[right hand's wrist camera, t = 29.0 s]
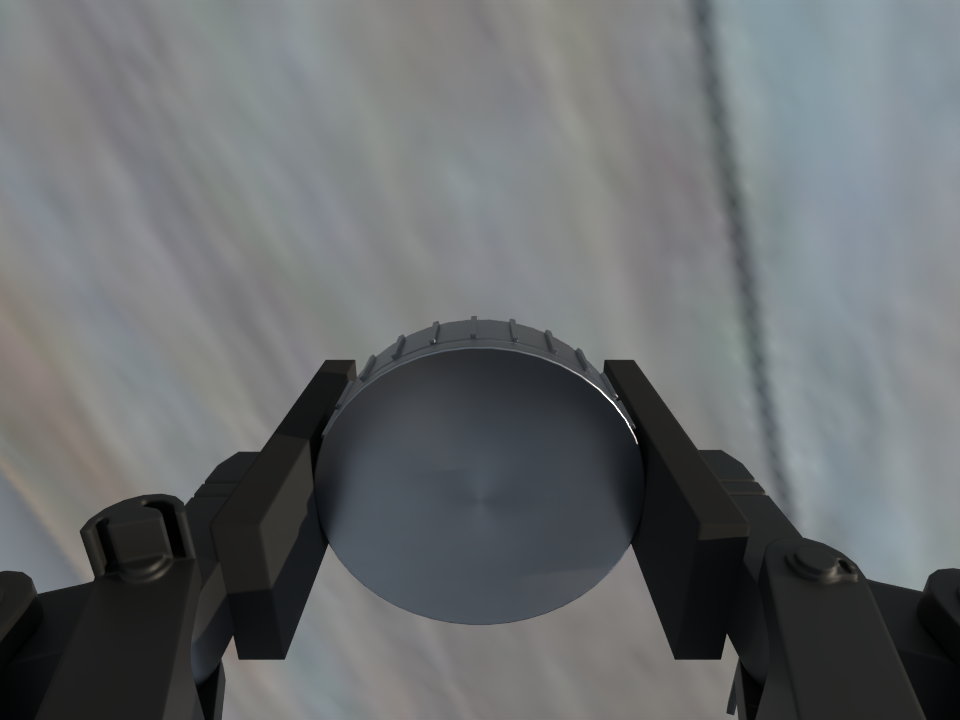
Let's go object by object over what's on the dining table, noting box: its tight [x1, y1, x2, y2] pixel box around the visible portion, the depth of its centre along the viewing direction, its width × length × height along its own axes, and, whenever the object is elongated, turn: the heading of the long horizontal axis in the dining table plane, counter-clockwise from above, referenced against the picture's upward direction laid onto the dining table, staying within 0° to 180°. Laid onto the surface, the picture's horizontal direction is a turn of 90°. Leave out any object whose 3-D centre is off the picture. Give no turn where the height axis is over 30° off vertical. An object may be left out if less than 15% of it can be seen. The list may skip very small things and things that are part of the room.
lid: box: [314, 316, 646, 625], centre depth 11 cm, size 7×7×2 cm
